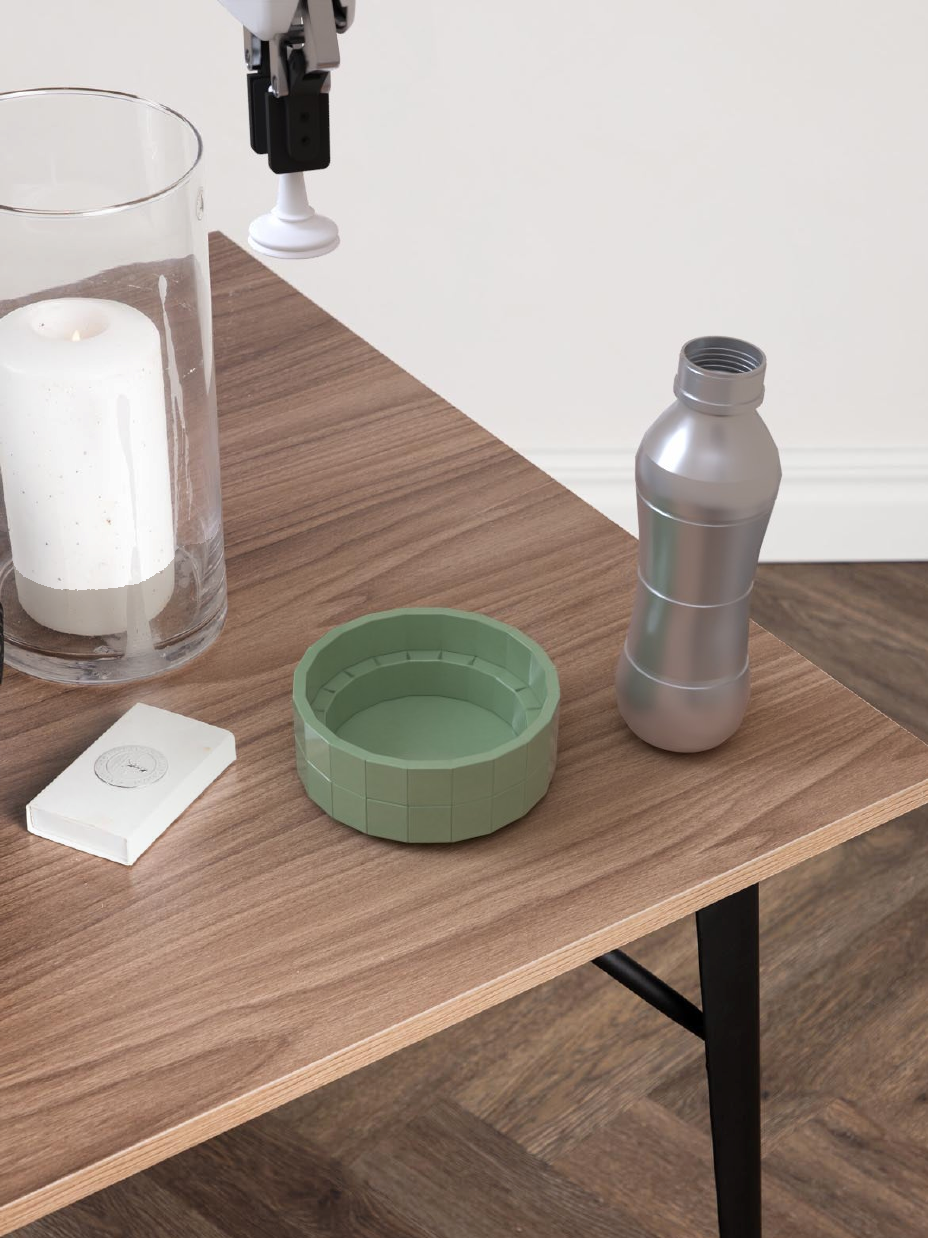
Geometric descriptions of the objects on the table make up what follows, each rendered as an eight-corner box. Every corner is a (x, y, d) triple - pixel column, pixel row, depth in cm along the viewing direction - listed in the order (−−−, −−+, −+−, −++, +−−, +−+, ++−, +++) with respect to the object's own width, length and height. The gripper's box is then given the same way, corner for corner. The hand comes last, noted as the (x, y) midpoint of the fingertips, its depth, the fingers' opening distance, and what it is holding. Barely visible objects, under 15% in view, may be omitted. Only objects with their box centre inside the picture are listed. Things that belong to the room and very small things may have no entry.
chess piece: (229, 237, 92) (217, 43, 86) (302, 216, 95) (295, 27, 88) (285, 267, 90) (277, 70, 83) (358, 245, 92) (356, 52, 86)
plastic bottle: (689, 788, 81) (742, 409, 68) (582, 725, 85) (613, 351, 71) (770, 729, 85) (834, 358, 72) (664, 670, 88) (707, 306, 75)
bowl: (260, 823, 78) (253, 738, 75) (345, 670, 87) (343, 588, 84) (518, 876, 76) (523, 791, 73) (578, 714, 85) (585, 632, 82)
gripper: (145, -277, 81) (176, 115, 93) (251, -206, 71) (271, 227, 83) (294, -280, 84) (306, 102, 96) (419, -212, 73) (415, 208, 85)
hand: (290, 157), depth 89 cm, fingers closed on chess piece
